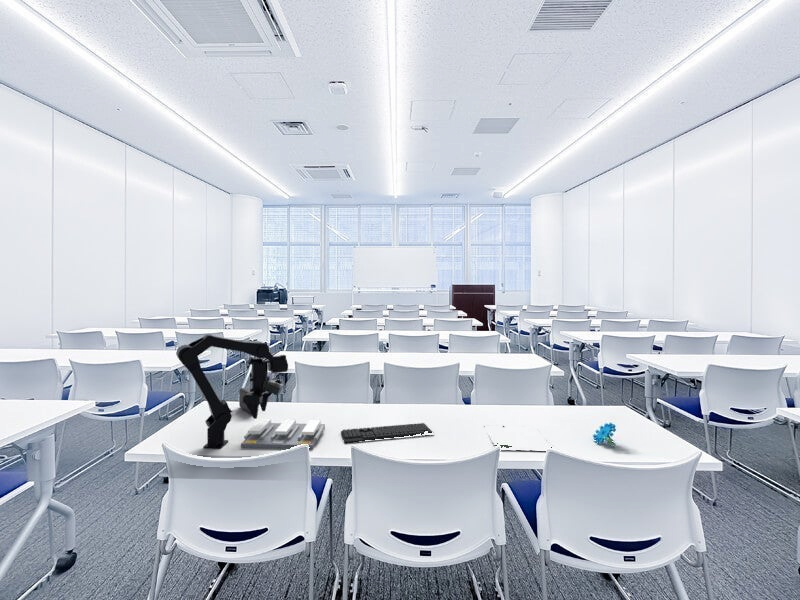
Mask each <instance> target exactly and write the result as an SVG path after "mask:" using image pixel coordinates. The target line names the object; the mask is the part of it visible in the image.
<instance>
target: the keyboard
mask: <svg viewBox="0 0 800 600" xmlns="http://www.w3.org/2000/svg"><path fill="white" fill-rule="evenodd" d="M425 431H428V433H432V432H433V431H432V430H431V428H429V426H428V425H427V424H426V423H424V422H420V423H419V422H418V423H411V424H410V423H407V424H406V423H405V424H396V425H385V426H372V427H359V428H348V429H342V430H340V435H341V439H342V440H344V441H343V443H344V444H354V443H353V442H357V443H360V442H359V441H365V440H375V439H384V438H394V437H404V436H409V435H410V436H413V435H416V434H420V433H421V435H422V434H424V432H425Z"/></svg>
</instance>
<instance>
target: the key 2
mask: <svg viewBox="0 0 800 600" xmlns="http://www.w3.org/2000/svg"><path fill="white" fill-rule="evenodd" d="M321 421H322V420H320V419H319V420H318V419H310V420H308V422H306V424H307V425H306V426H305V428H304V429H303V430H302V435H314V433H315V432H316V430H317V429H318V427H319V425H320V424H322V422H321Z"/></svg>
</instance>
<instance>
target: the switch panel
mask: <svg viewBox="0 0 800 600" xmlns="http://www.w3.org/2000/svg"><path fill="white" fill-rule="evenodd" d="M281 424H282V422H277V423H276V422H271V423H270V424H269V425H268V426H267V427H266V428H265V429H264V430H263V431H262V432H261V433H260V434H248V432H247V433H246V434H245V435H244V436H243V438H244V440H243V441H242V442H241V443H240V448H241V447H242V448H243V449H284V448H291V447H294V446H297V445H301V444H308V445H309V447H310V449H309V450H313V449H314V448H315V447H316V445H317V442H318V440H320V437H321V435H322V434H323V432H324V430H325V428H326V424H325V423H321V424H320V425H319V427H318V429H317V430H316V432H315V433H314V435H302V430H303V429H304V428H305V426H306V425H307V423H295V425H294V426H293V427H292V428H291V430H290V431H289V432H288V433H287V435H278V434H275V430H276V429H277V428H278V427H279V426H280V425H281ZM244 447H245V448H244ZM242 448H241V449H242ZM284 450H285V449H284Z"/></svg>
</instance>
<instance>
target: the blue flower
mask: <svg viewBox="0 0 800 600" xmlns="http://www.w3.org/2000/svg"><path fill="white" fill-rule="evenodd" d="M616 430H617V429H616V425H615V424H614V423H612V422H609V423H607V422H606V423H604V426H603V425H600V426H599V429H596V430H595V431H594V433H593V434H592V437H593V438H592V440H593V439H594V440H596V441H595V442H594V443H596V442H599V443H601V444H604V443H605V442H606V443H607V444H608V445H611V446H612V445H615V444H614V443H612V441H614V439H612V437H613V436H614V433H615V432H616ZM595 433H596V434H595Z"/></svg>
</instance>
